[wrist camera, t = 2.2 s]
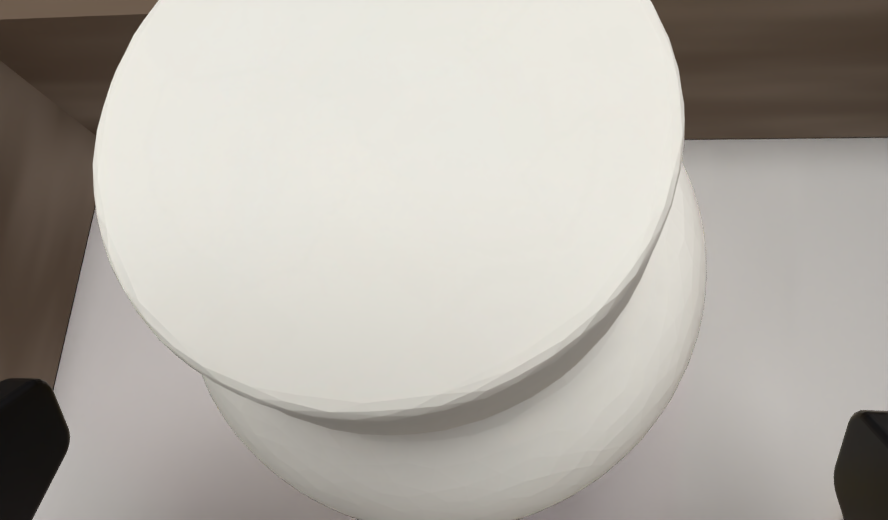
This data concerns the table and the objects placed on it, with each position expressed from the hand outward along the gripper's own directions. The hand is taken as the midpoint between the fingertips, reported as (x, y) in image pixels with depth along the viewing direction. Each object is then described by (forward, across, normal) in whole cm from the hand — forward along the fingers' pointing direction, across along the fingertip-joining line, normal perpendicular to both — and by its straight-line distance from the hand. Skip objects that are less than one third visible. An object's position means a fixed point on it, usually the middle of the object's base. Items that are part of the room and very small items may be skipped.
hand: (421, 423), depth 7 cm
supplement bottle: (+8, 0, +6) cm, 10 cm away
